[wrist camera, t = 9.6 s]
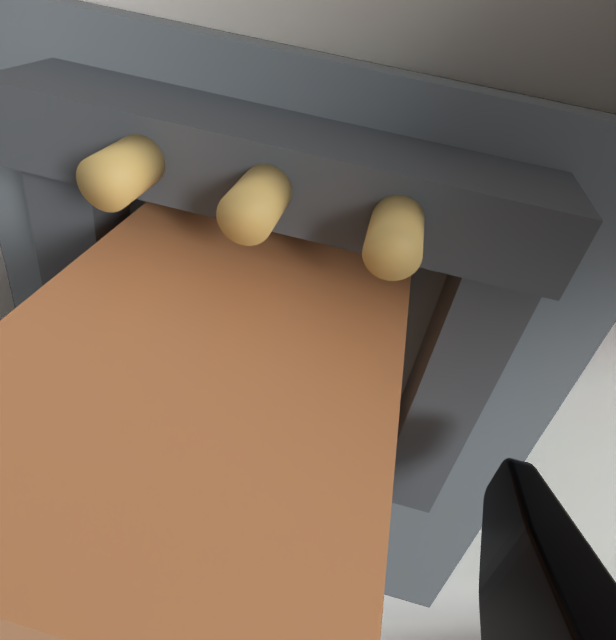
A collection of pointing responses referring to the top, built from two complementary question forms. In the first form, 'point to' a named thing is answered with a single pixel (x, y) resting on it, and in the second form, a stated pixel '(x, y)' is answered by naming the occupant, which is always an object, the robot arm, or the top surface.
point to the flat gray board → (336, 216)
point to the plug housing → (199, 439)
